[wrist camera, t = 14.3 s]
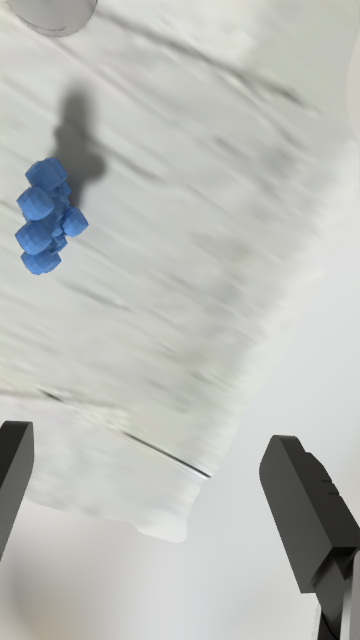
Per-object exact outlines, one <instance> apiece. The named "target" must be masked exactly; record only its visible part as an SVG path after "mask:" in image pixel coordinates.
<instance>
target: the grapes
mask: <svg viewBox="0 0 360 640" xmlns="http://www.w3.org/2000/svg"><path fill="white" fill-rule="evenodd" d="M25 175H26V177H27V179H28V181H29V183H30V184H31V186H32V187H29V188H28V189H27V190H26V191H25V192H23V193H22V194H21V196H20V197H19V198H18V199H17V200H16V201H17V203H18V205H19V206H20V208H21V210H22V212H23V213H22V214H23V216H24V218H25V220H26V222H27V223H26V224H25V225H24V226H23V227H22V228H21V229H19V230H18V232H17V233H16V234H15V237H16V239H17V241H18V242H19V244H20V246H21V247H22V248H23V250H24V251H25V252H24V253H23V254H22V255H21V256H20V257H21V259H22V261H23V263H24V264H25V266H26V268H27V269H28V270H29V271H30V272H31V273H33V274H36V275H40V274H42V273H48V272H50V271H52V270H53V269H54V268H55V267H56V266H57V265H58V264H59V263H60V262H61V259H60V257H59V255H58V252H59V251H61V250H62V249H63V248H64V247H65V246H66V245H67V241H66V239H65V236H66V235H68V236H71V237H75V236H77V235H79V234H80V233H81V232H82V231H83V230H84V229H85V228H86V227H87V226H88V225H89V224H88V222H87V220H86V218H85V217H84V215H83V214H82V212H81V211H80V210H79V209H77V208H75V207H71V206H70V204H69V202H68V201H69V199H68V198H67V197H68V196H69V195H70V194H71V192H72V191H71V189H70V187H69V185H68V184H67V182H66V181H65V180H66V179H67V178H68V175H67V173H66V171H65V169H64V168H63V166H62V165H61V163H60V162H59V161H58V160H57V159H55V158H46V159H45V160H44V161H37V162H36V163H35V164H34V165H32V166H31V168H30V169H29V170H28V171H27V172H26V174H25Z"/></svg>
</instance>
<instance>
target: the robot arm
mask: <svg viewBox="0 0 360 640" xmlns="http://www.w3.org/2000/svg"><path fill="white" fill-rule="evenodd" d="M4 1H5V2H6V3H7V4H8V6H9V7H10V8H11V9H12V10H13V11H14V12H15V13H16V15H17V16H18V17H19V18H20V19H21V20H22V21H24V22H25V23H26V24H27V25H28V26H29V27H31V28H32V29H34V30H36V31H37V32H39V33H42V34H44V35H47V36H53V37H63V36H69V35H71V34H73V33H75V32H77V31H79V30H80V29H81V28H82V27H83V26H84V25H85V24H86V23H87V21H88V20H89V19H90V17H91V16H92V13H93V11H94V8H95V6H96V2H97V0H4ZM33 463H34V436H33V423H32V422H25V421H5V422H4V423H3V425H2V426H1V428H0V561H1V558H2V555H3V552H4V549H5V546H6V543H7V541H8V538H9V535H10V532H11V529H12V527H13V524H14V521H15V518H16V516H17V513H18V510H19V507H20V504H21V501H22V499H23V496H24V493H25V490H26V487H27V485H28V482H29V479H30V476H31V473H32V468H33ZM259 475H260V481H261V484H262V487H263V490H264V493H265V495H266V498H267V501H268V504H269V506H270V509H271V512H272V515H273V517H274V520H275V523H276V526H277V529H278V531H279V534H280V537H281V539H282V542H283V545H284V547H285V551H286V553H287V556H288V559H289V562H290V564H291V567H292V570H293V572H294V575H295V578H296V581H297V584H298V586H299V589H300V592H301V593H316V596H317V598H318V601H319V604H318V606H317V609H316V614H315V621H314V627H313V633H312V640H360V528H359V526H358V524H357V523H356V521H355V519H354V517H353V516H352V514H351V512H350V510H349V509H348V507H347V505H346V504H345V502H344V500H343V499H342V497H341V496H339V492H338V490H337V488H336V487H335V485H334V484H333V483H332V480H331V478H330V476H329V475H328V473H327V471H326V470H325V468H324V466H323V465H322V464H321V463H320V462H319V461H318V460H317V459H316V458H315V457H314V456H313V455H312V454H311V453H309V452H305V450H304V448H303V446H302V445H301V443H300V441H299V439H298V438H297V437H295V436H283V435H273V436H272V438H271V439H270V442H269V444H268V447H267V449H266V451H265V454H264V456H263V458H262V461H261V463H260V469H259Z"/></svg>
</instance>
